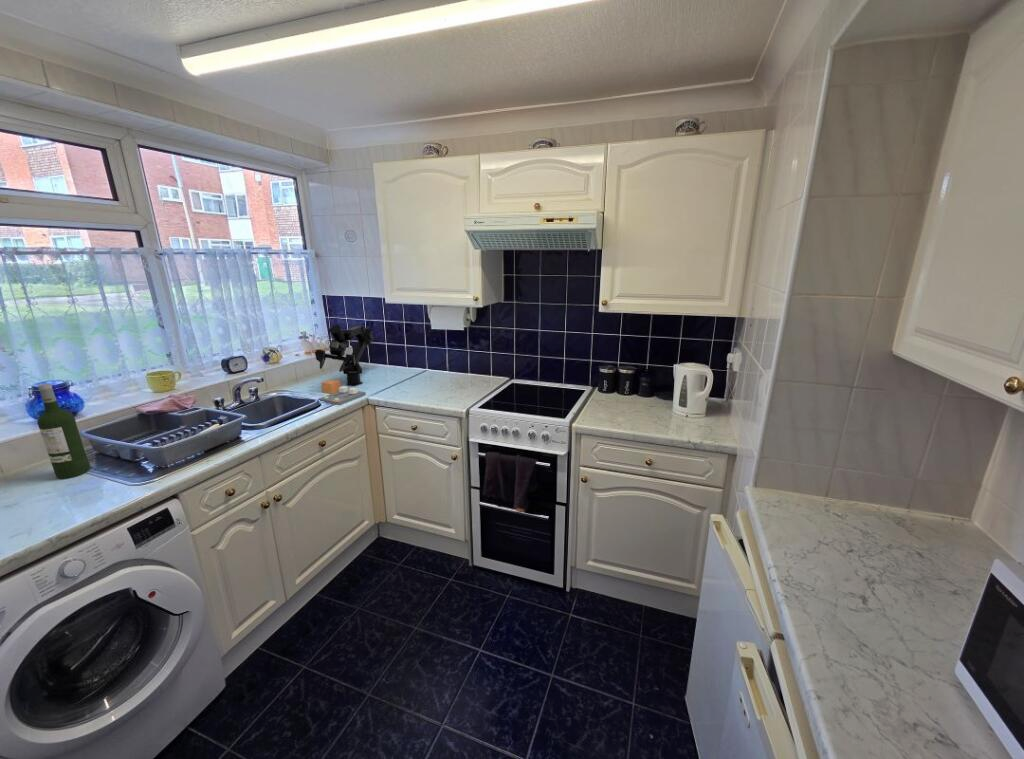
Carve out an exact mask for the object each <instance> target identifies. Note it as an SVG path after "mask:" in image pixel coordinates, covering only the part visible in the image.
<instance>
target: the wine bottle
mask: <svg viewBox="0 0 1024 759" xmlns="http://www.w3.org/2000/svg"><path fill="white" fill-rule="evenodd" d="M38 391H39V393H40V396H41V399H42V403H43V406H44V407H43V408H44V412H43V413H42V414H41V415H40V417H38V420H37V421H36V422H37V426H38V430H39V432H40V434H41V435H40V436H41V438H42V440H43V444H44V445H45V446H44V447H45V449H46V453H47V455H48V457H49V461H50V463H51V466H52V469H53V473H54V475H55V477H56V478H57V479H60V480H66V479H73V478H75V477H79V476H82V475H85V474H86V472H87V471H88V470H89V469H90V467H91V465H90V461H89V458H88V455H87V451H86V449H85V446H84V443H83V440H82V437H81V433H80V431H79V427H78V424H77V421H76V419H75V418H76V417H75V416H74V414H73V412H71V411H69V410H65V409H62V408H61V407H60V405H59V403H58V400H57V397H56V395H55V392H54V389H53V385H51V383H44V384H40V385H38ZM90 470H91V469H90ZM90 470H89V471H90ZM89 471H88V472H89ZM88 472H87V473H88ZM84 473H85V474H84Z"/></svg>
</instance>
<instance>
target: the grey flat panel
mask: <svg viewBox="0 0 1024 759" xmlns="http://www.w3.org/2000/svg"><path fill="white" fill-rule="evenodd" d="M366 395H367V394H366V392H365V391H360V390H358V393H356V394H349V390H348V391H347V392H345V393H341V392H339V391H338V392H336V393H333V394H327V395H324V396H322V397H319V398H317V401H318V400H320V401H324V402H326V403H325V404H329V403H330V404H331V405H335V406H336V405H338V406H343V405H344V403H345V404H347V403H349V402H351V401H354V400H357V399H359V398H362V397H365V396H366Z"/></svg>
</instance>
